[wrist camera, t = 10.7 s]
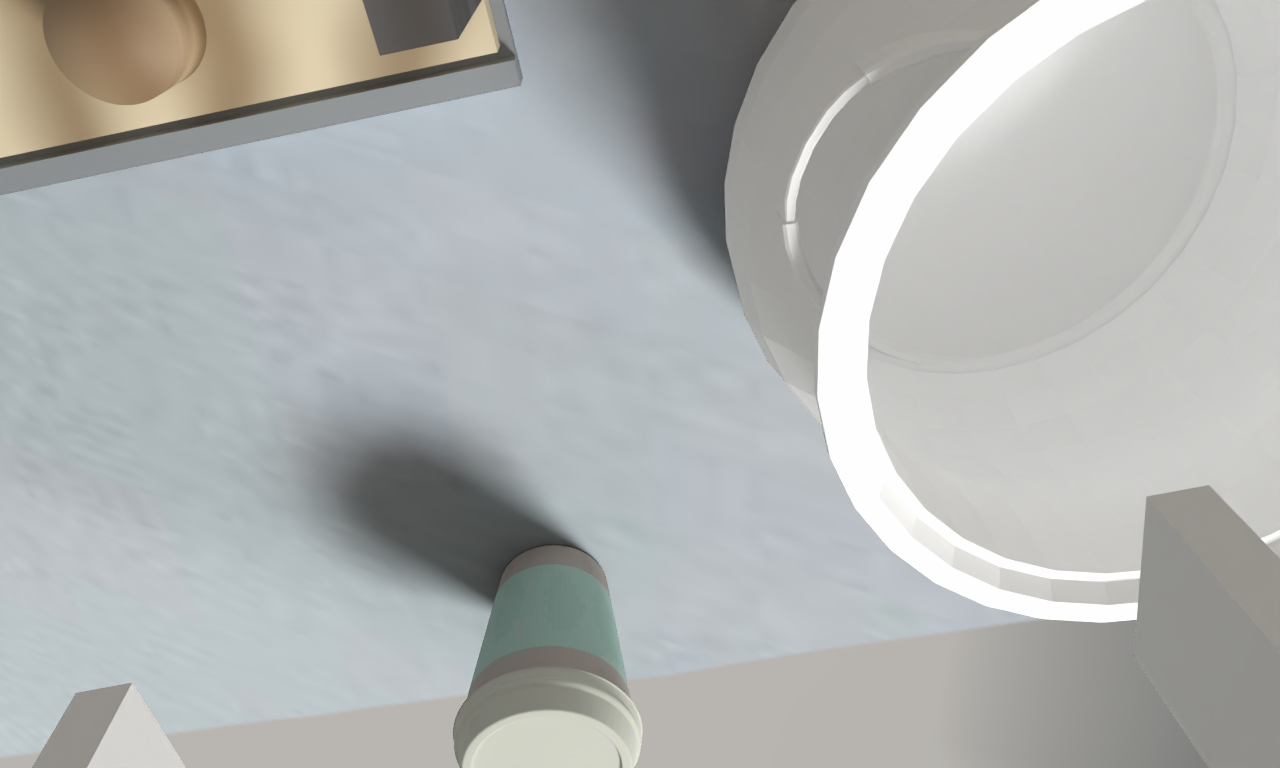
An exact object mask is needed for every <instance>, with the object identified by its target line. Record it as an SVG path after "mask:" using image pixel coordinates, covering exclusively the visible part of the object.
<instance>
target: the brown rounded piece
mask: <svg viewBox="0 0 1280 768" xmlns="http://www.w3.org/2000/svg"><path fill="white" fill-rule="evenodd" d="M43 32H44V38H45V41H46V45H47V48H48V50H49V52H50V55H51V56H52V58H53V60H54V62H55V64H56V65H57V66H58V68H59V69H60V71H61V72H62V73H63V74H64V75H65V76H66V78H67V79H68V80H70V81H71V82H72V83H73V84H74V85H75V86H76V87H78V88H79V89H80V90H82V91H83V92H85V93H87V94H88V95H90V96H92V97H94V98H96V99H98V100H101V101H104V102H107V103H111V104H116V105H136V104H141V103H144V102H147V101H149V100H152V99H154V98H155V97H157V96H159V95H160V94H162V93H164V92H165V91H167V90H169V89H170V88H172V87H173V86H175V85H177V84H178V83H180V82H182V81H183V80H185V79H186V78H188V77H189V76H190V75H191V74H192V73H194V72H195V70H196V69H197V68H198V66H199V65H200V63H201V61H202V59H203V56H204V53H205V49H206V39H207V36H206V27H205V23H204V19H203V16H202V13H201V11H200V9H199V7H198V5H197V3H196V2H195V0H47V2H46V5H45V8H44V12H43Z"/></svg>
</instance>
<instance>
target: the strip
mask: <svg viewBox="0 0 1280 768" xmlns="http://www.w3.org/2000/svg"><path fill="white" fill-rule="evenodd" d="M46 2H47V0H0V158H3V157H7V156H12V155H17V154H21V153H26V152H31V151H35V150H40V149H45V148H50V147H54V146H59V145H64V144H68V143H73V142H78V141H83V140H87V139H92V138H97V137H101V136H106V135H111V134H115V133H120V132H125V131H130V130H134V129H139V128H144V127H148V126H153V125H158V124H163V123H167V122H172V121H177V120H181V119H186V118H191V117H195V116H200V115H205V114H210V113H214V112H219V111H224V110H228V109H233V108H238V107H243V106H247V105H252V104H257V103H261V102H266V101H271V100H276V99H280V98H285V97H290V96H294V95H299V94H304V93H308V92H313V91H318V90H323V89H327V88H332V87H337V86H341V85H346V84H351V83H356V82H360V81H365V80H370V79H374V78H379V77H384V76H388V75H393V74H398V73H403V72H407V71H412V70H417V69H421V68H426V67H431V66H436V65H440V64H445V63H450V62H454V61H459V60H464V59H468V58H473V57H478V56H483V55H487V54H492V53H497V52H498V49H499V47H500V43H499V39H498V36H497V32H496V28H495V24H494V20H493V16H492V12H491V8H490V4H489V0H195V2H196V3H197V5H198V7H199V9H200V11H201V13H202V16H203V19H204V23H205V27H206V36H207V39H206V49H205V53H204V56H203V59H202V61H201V63H200V65H199V66H198V68H197V69H196V70H195V72H194V73H192V74H191V75H190V76H189V77H188V78H186V79H185V80H183V81H182V82H180V83H178V84H177V85H175V86H173V87H172V88H170V89H169V90H167V91H165V92H164V93H162V94H160V95H159V96H157V97H155V98H154V99H152V100H149V101H147V102H144V103H141V104H136V105H116V104H111V103H107V102H104V101H101V100H98V99H96V98H94V97H92V96H90V95H88V94H87V93H85V92H83V91H82V90H80V89H79V88H78V87H76V86H75V85H74V84H73V83H72V82H71V81H70V80H68V79H67V78H66V76H65V75H64V74H63V73H62V72H61V71H60V69H59V68H58V66H57V65H56V64H55V62H54V60H53V58H52V56H51V55H50V52H49V50H48V48H47V45H46V41H45V38H44V32H43V12H44V8H45V5H46Z"/></svg>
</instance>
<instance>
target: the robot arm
mask: <svg viewBox="0 0 1280 768" xmlns="http://www.w3.org/2000/svg"><path fill="white" fill-rule="evenodd" d="M1134 657H1135V659H1136V660H1137V661H1138V663H1139V665H1140V666H1141V668H1142V669H1143V670H1144V672H1145V674H1146V675H1147V676H1148V678H1149V680H1150V681H1151V683H1152V684H1153V685H1154V687H1155V689H1156V690H1157V692H1158V693H1159V694H1160V696H1161V697H1162V699H1163V700H1164V702H1165V703H1166V705H1167V706H1168V708H1169V709H1170V711H1171V712H1172V714H1173V715H1174V717H1175V718H1176V720H1177V721H1178V723H1179V724H1180V725H1181V727H1182V729H1183V730H1184V731H1185V733H1186V735H1187V736H1188V738H1189V739H1190V741H1191V742H1192V744H1193V745H1194V747H1195V748H1196V749H1197V751H1198V753H1199V754H1200V755H1201V757H1202V758H1203V760H1204V761H1205V763H1206V764H1207V766H1208V767H1209V768H1280V558H1279V557H1278V556H1277V555H1276V554H1275V553H1274V552H1273V551H1272V550H1271V549H1270V548H1269V547H1268V546H1267V545H1266V544H1265V543H1264V542H1263V540H1262V539H1261V538H1260V537H1259V536H1258V535H1257V534H1256V533H1255V532H1254V531H1253V530H1252V529H1251V528H1250V527H1249V526H1248V525H1247V524H1246V523H1245V522H1244V521H1243V520H1242V519H1241V518H1240V517H1239V516H1238V515H1237V514H1236V512H1235V511H1234V510H1233V509H1232V508H1231V507H1230V506H1229V505H1228V504H1227V503H1226V502H1225V501H1224V500H1223V499H1222V498H1221V497H1220V496H1219V495H1218V494H1217V493H1216V492H1215V491H1214V490H1213V489H1212V488H1211V487H1210V486H1209V485H1206V486H1201V487H1195V488H1190V489H1185V490H1179V491H1174V492H1168V493H1163V494H1157V495H1152V496H1146V509H1145V521H1144V533H1143V546H1142V558H1141V571H1140V583H1139V595H1138V608H1137V621H1136V633H1135V645H1134ZM32 768H186V767H185V766H184V764H183V762H182V761H181V759H180V758H179V756H178V755H177V753H176V751H175V750H174V748H173V747H172V745H171V743H170V742H169V740H168V739H167V737H166V736H165V734H164V732H163V731H162V729H161V728H160V726H159V725H158V723H157V721H156V720H155V718H154V717H153V715H152V713H151V712H150V710H149V709H148V707H147V706H146V704H145V702H144V701H143V699H142V698H141V696H140V694H139V693H138V691H137V690H136V688H135V687H134V685H133V683H128V684H123V685H117V686H112V687H107V688H101V689H96V690H90V691H85V692H79V693H76V694H75V696H74V697H73V699H72V701H71V703H70V704H69V706H68V708H67V709H66V711H65V713H64V714H63V716H62V718H61V719H60V721H59V723H58V725H57V726H56V728H55V730H54V731H53V733H52V735H51V736H50V738H49V740H48V742H47V743H46V745H45V747H44V748H43V750H42V752H41V753H40V755H39V757H38V759H37V760H36V762H35V764H34V765H33V767H32Z"/></svg>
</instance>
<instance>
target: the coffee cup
mask: <svg viewBox="0 0 1280 768" xmlns="http://www.w3.org/2000/svg"><path fill="white" fill-rule="evenodd" d="M642 734H643V728H642V722H641V718H640V715H639V713H638V710H637V708H636V706H635V705H634V704H633V702H632V701H631V699H630V694H629V689H628V684H627V679H626V674H625V669H624V664H623V659H622V654H621V649H620V644H619V639H618V634H617V629H616V624H615V619H614V614H613V609H612V604H611V599H610V594H609V590H608V585H607V580H606V576H605V574H604V571H603V570H602V568H601V566H600V565H599V564H598V563H597V562H596V561H595V560H594V559H593V558H592V557H591V556H589V555H588V554H586V553H584V552H582V551H580V550H577V549H575V548H571V547H567V546H560V545H547V546H540V547H536V548H533V549H530V550H527V551H525V552H523V553H521V554H520V555H518V556H517V557H515V558H514V559H513V560H512V561H511V562H510V563H509V564H508V565H507V567H506V568H505V570H504V572H503V574H502V577H501V580H500V584H499V587H498V591H497V594H496V597H495V601H494V604H493V608H492V611H491V615H490V618H489V622H488V626H487V629H486V633H485V636H484V640H483V643H482V647H481V651H480V654H479V658H478V661H477V665H476V668H475V672H474V675H473V679H472V683H471V686H470V690H469V693H468V697H467V699H466V701H465V702H464V703H463V705H462V706H461V708H460V710H459V711H458V714H457V716H456V719H455V722H454V728H453V739H454V750H455V755H456V759H457V762H458V764H459V766H460V768H634V766H635V764H636V762H637V760H638V757H639V754H640V749H641V741H642Z"/></svg>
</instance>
